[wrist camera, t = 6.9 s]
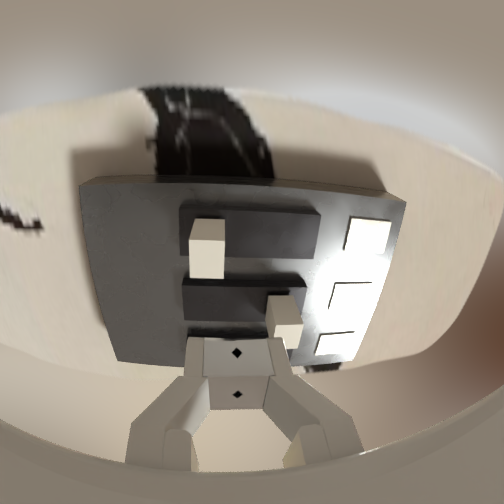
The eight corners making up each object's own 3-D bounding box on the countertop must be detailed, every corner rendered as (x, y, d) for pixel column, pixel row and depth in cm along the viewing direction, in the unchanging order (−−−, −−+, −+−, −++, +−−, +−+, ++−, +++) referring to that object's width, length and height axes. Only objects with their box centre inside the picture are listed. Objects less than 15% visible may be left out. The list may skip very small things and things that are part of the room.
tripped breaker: (195, 251, 17) (190, 277, 14) (195, 218, 16) (188, 239, 13) (223, 252, 17) (223, 278, 15) (224, 219, 16) (225, 240, 14)
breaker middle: (265, 319, 20) (271, 349, 17) (268, 295, 19) (275, 325, 16) (288, 318, 20) (297, 348, 18) (292, 295, 19) (303, 324, 17)
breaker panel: (124, 340, 26) (115, 368, 22) (96, 177, 18) (72, 189, 15) (343, 341, 28) (355, 367, 25) (387, 191, 21) (413, 206, 17)
